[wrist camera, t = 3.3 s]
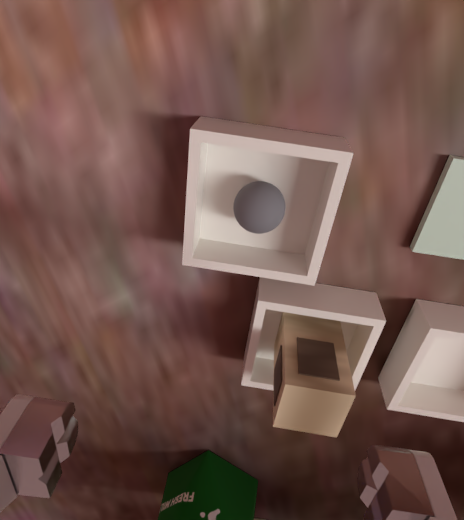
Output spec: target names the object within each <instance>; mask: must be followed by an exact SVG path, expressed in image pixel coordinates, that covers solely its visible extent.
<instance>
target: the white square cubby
mask: <svg viewBox="0 0 464 520" xmlns="http://www.w3.org/2000/svg"><path fill="white" fill-rule="evenodd" d="M282 312H287V313H293V314H299V315H305V316H312V317H318V318H324V319H330V320H336V321H340V322H341V327H342V332H343V337H344V341H345V346H346V351H347V356H348V361H349V366H350V371H351V375H352V380H353V385H354V390H356V388H357V385H358V383H359V381H360V379H361V376H362V374H363V372H364V370H365V368H366V365H367V363H368V361H369V359H370V356H371V354H372V352H373V350H374V348H375V345H376V343H377V341H378V339H379V336H380V334H381V332H382V330H383V327H384V325H385V323H386V318H385V316H384V313H383V310H382V307H381V305H380V302H379V299H378V296H377V294H376V292H369V291H363V290H357V289H351V288H344V287H338V286H332V285H325V284H319V283H315V286H313V285H307V284H300V283H294V282H288V281H281V280H275V279H269V278H263V277H259V282H258V287H257V292H256V297H255V303H254V308H253V313H252V318H251V323H250V328H249V334H248V339H247V344H246V349H245V354H244V362H243V372H242V382H241V385H243V386H249V387H255V388H261V389H267V390H273V383H274V344H275V340H276V336H277V332H278V328H279V324H280V320H281V316H282Z"/></svg>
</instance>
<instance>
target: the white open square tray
mask: <svg viewBox="0 0 464 520" xmlns="http://www.w3.org/2000/svg"><path fill="white" fill-rule="evenodd" d="M378 380H379V383H380V387H381V390H382V394H383V398H384V401H385V405H386V408H387V409H388V410H394V411H400V412H406V413H412V414H418V415H424V416H430V417H436V418H442V419H448V420H454V421H460V422H464V306H458V305H451V304H445V303H439V302H432V301H426V300H420V299H416V300H415V302H414V304H413V307H412V309H411V311H410V313H409V315H408V317H407V319H406V321H405V323H404V325H403V327H402V329H401V331H400V333H399V335H398V337H397V339H396V342H395V344H394V346H393V348H392V350H391V352H390V354H389V356H388V358H387V360H386V362H385V364H384V366H383V368H382V370H381V372H380V374H379V377H378Z"/></svg>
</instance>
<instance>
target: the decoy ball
mask: <svg viewBox="0 0 464 520" xmlns="http://www.w3.org/2000/svg"><path fill="white" fill-rule="evenodd" d="M285 209H286V205H285V200H284V197H283V195H282V193H281V192H280V190H279V189H278V188H277V187H276V186H274V185H273V184H271V183H268V182H264V181H255V182H251V183H249V184H247V185H245V186H244V187H243V188H241V190H240V191H239V192H238V193H237V195H236V197H235V200H234V205H233V210H234V215H235V218H236V220H237V222H238V223H239V225H240V226H241V227H243V228H244V229H245V230H247V231H249V232H252V233H257V234H262V233H267V232H269V231H272V230H273V229H275V228H276V227H277V226H278V225H279V224H280V223H281V221H282V219H283V217H284V214H285Z"/></svg>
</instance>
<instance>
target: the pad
mask: <svg viewBox="0 0 464 520" xmlns="http://www.w3.org/2000/svg"><path fill="white" fill-rule="evenodd" d="M410 248H411V250H412V252H418V253H425V254H431V255H437V256H444V257H450V258H457V259H463V260H464V157H459V156H453V155H449V157H448V160H447V162H446V164H445V166H444V169H443V171H442V173H441V176H440V178H439V180H438V183H437V185H436V187H435V190H434V192H433V194H432V196H431V199H430V201H429V203H428V206H427V208H426V210H425V213H424V215H423V217H422V220H421V222H420V224H419V226H418V229H417V231H416V233H415V236H414V238H413V240H412V243H411V245H410Z"/></svg>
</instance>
